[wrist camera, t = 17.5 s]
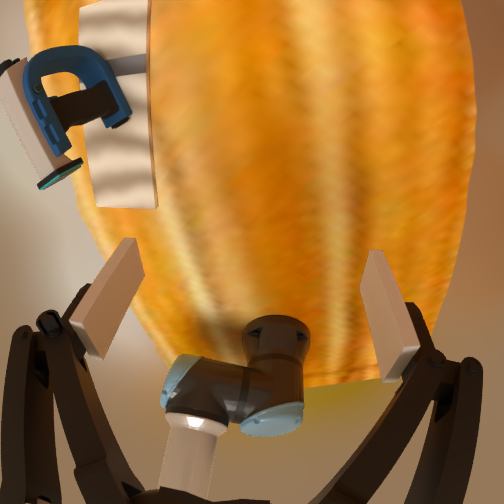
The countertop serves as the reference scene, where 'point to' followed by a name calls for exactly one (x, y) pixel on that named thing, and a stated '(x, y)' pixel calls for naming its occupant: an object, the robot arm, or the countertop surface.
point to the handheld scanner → (59, 105)
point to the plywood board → (137, 95)
